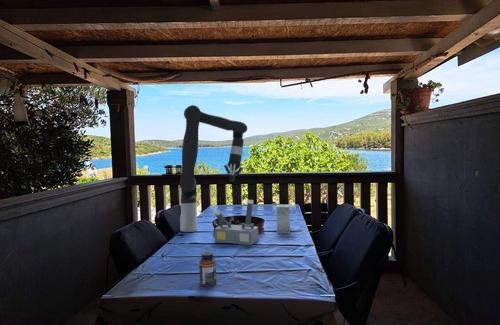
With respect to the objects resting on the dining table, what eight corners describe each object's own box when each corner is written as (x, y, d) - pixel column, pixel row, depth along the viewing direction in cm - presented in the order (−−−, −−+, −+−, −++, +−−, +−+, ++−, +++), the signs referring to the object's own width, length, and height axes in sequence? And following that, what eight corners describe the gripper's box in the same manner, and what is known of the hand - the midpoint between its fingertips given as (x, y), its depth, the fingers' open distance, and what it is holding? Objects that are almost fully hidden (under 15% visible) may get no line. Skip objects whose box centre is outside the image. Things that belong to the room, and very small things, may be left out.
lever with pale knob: (222, 225, 171) (212, 213, 160) (223, 222, 172) (213, 209, 161) (228, 226, 169) (218, 213, 159) (229, 223, 170) (219, 210, 160)
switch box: (214, 241, 167) (214, 223, 167) (223, 236, 176) (222, 219, 176) (251, 245, 159) (251, 226, 159) (258, 239, 169) (258, 222, 168)
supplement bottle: (200, 280, 117) (199, 250, 116) (216, 280, 117) (215, 250, 117) (199, 287, 111) (198, 256, 110) (216, 286, 111) (215, 255, 111)
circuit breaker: (289, 226, 195) (289, 202, 194) (290, 232, 181) (289, 206, 180) (277, 226, 196) (276, 202, 195) (277, 232, 182) (276, 207, 181)
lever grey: (243, 226, 165) (246, 199, 169) (245, 227, 166) (248, 200, 170) (249, 227, 163) (252, 199, 167) (251, 227, 165) (253, 200, 169)
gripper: (224, 151, 197) (219, 179, 196) (243, 154, 192) (238, 182, 191) (228, 153, 204) (224, 180, 203) (247, 156, 199) (243, 183, 198)
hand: (231, 181), depth 197 cm, fingers closed
